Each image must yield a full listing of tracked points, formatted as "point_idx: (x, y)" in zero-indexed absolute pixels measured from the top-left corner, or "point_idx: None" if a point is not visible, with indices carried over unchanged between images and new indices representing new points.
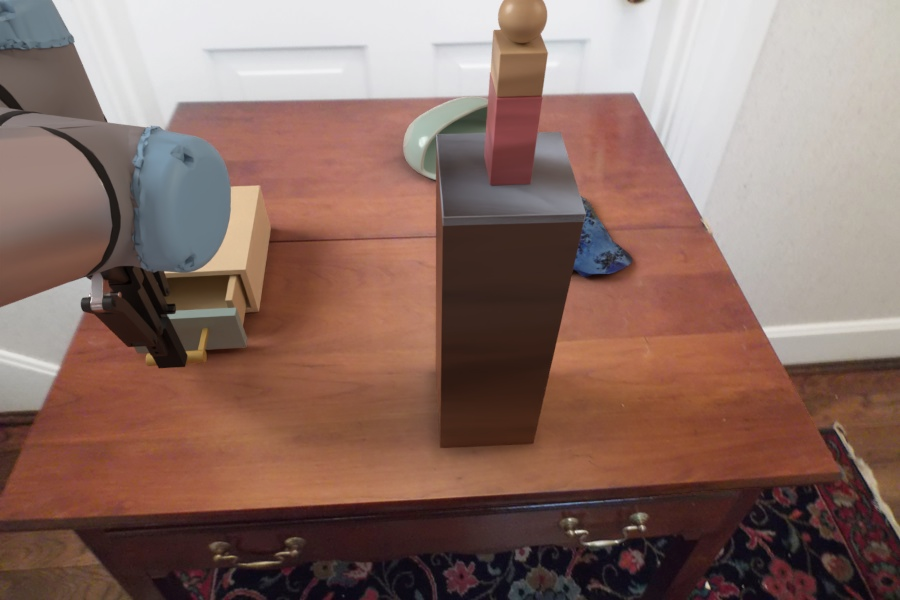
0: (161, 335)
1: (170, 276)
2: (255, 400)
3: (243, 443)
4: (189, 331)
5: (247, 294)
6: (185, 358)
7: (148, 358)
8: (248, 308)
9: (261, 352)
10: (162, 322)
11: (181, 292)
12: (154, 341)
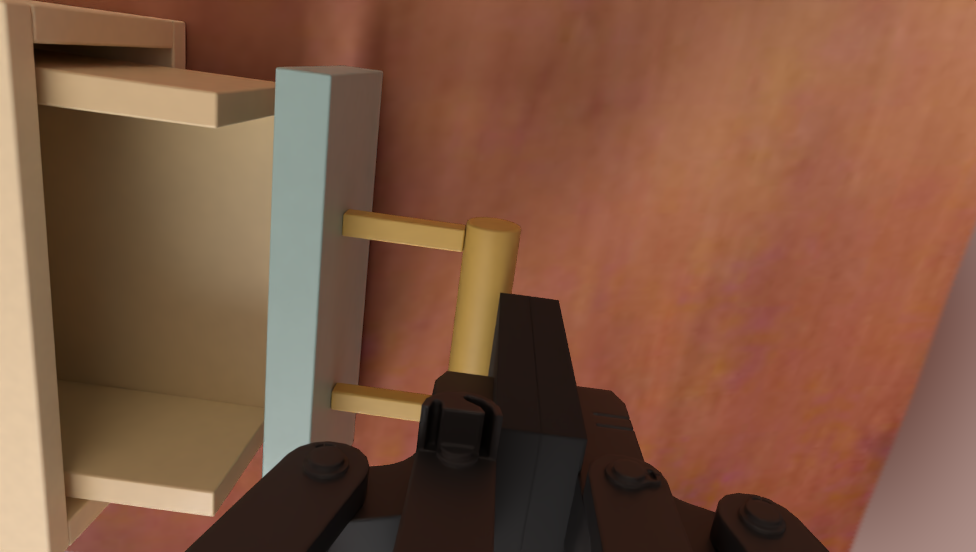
0: (586, 446)
1: (52, 385)
2: (621, 46)
3: (792, 93)
4: (340, 287)
5: (126, 43)
6: (526, 301)
7: None
8: (174, 60)
9: (397, 17)
10: (534, 458)
11: (90, 319)
12: (782, 520)
